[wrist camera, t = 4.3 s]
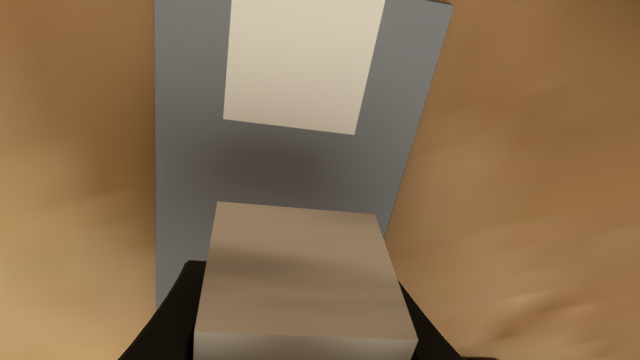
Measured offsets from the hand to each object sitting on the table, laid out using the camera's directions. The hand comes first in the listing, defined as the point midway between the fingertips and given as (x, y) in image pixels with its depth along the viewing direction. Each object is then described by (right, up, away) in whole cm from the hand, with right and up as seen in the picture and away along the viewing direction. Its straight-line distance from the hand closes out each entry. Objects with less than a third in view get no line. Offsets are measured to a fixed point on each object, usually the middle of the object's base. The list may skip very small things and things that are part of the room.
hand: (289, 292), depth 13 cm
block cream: (0, 0, +1) cm, 1 cm away
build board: (-1, +3, +9) cm, 9 cm away
